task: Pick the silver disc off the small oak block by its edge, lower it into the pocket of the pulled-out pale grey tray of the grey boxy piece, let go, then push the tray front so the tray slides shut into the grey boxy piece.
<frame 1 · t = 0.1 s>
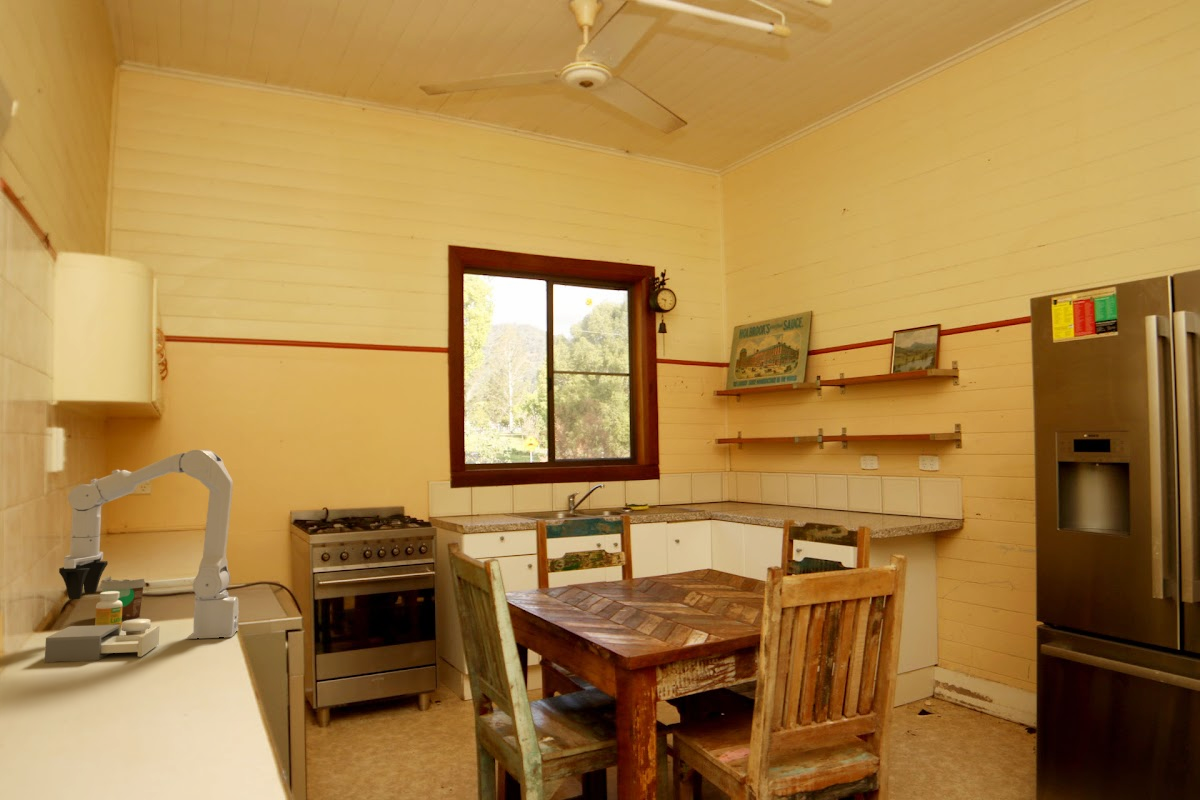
hand: (82, 596, 182), 10 cm above the worktop, tool pointing down, fingers open, 7 cm apart
food container: (115, 619, 206), on the worktop
disc: (135, 628, 179), point 3 cm above the worktop, touching block
grey boxy piece: (83, 654, 169), on the worktop
supplement bottle: (107, 634, 188), on the worktop
block: (135, 644, 178), on the worktop
tray: (125, 641, 171), point 2 cm above the worktop, slide at 7.0 cm
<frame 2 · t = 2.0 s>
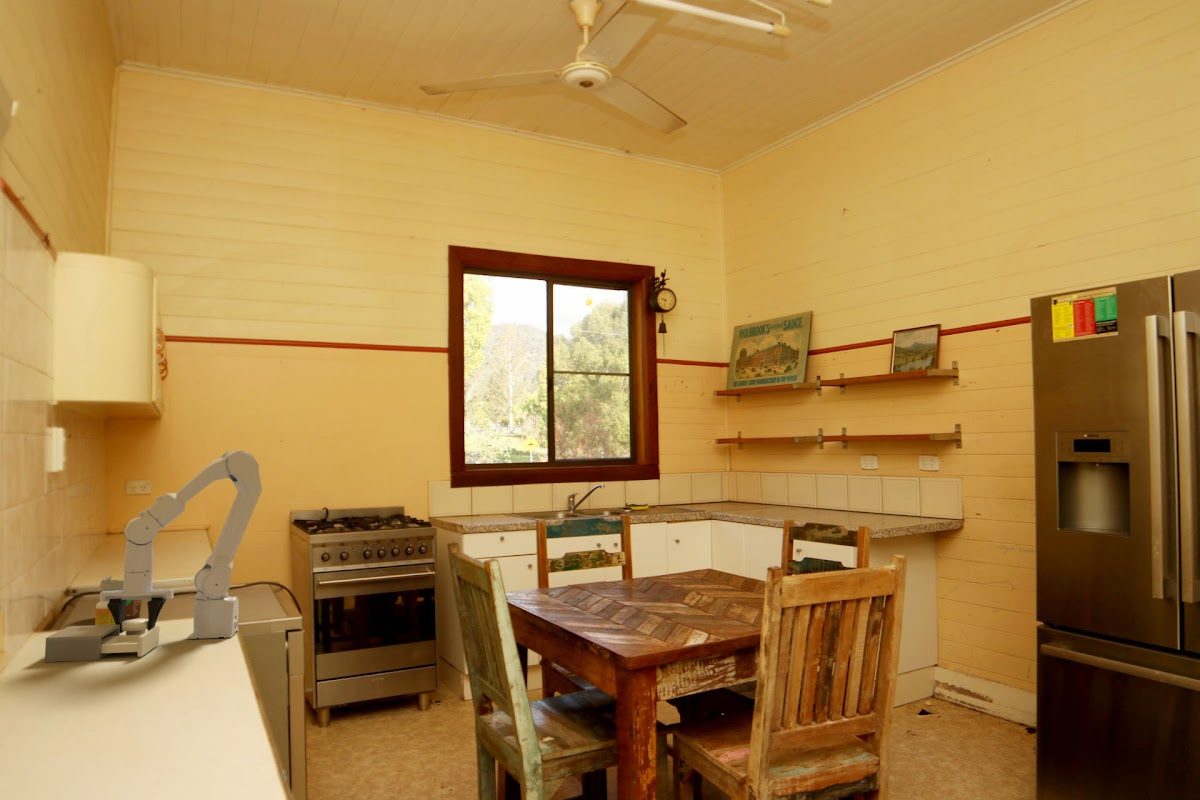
hand: (135, 632, 179), 3 cm above the worktop, tool pointing down, fingers closed on disc, 6 cm apart
disc: (135, 628, 179), point 4 cm above the worktop, touching block, gripper
everything else where it was.
when the fingers open (3 cm above the worktop, at t = 4.9 s): disc drops 2 cm, resting on tray.
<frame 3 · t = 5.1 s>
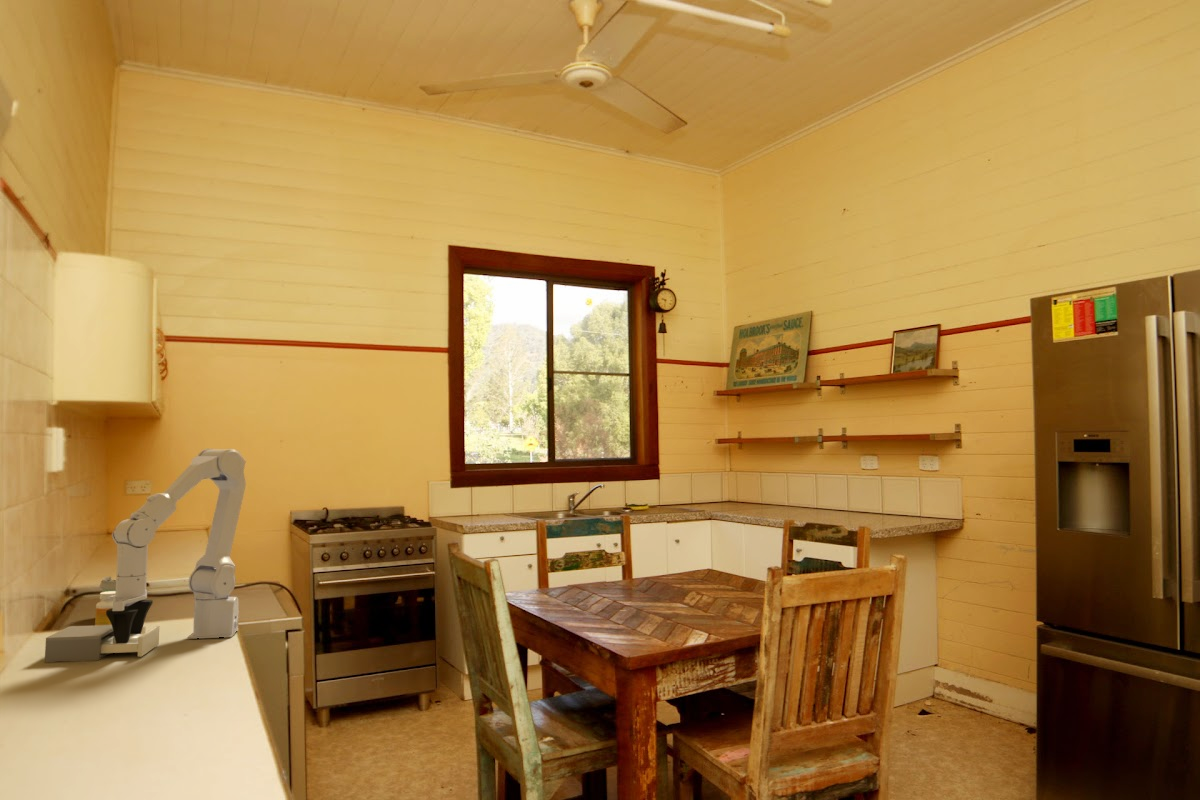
hand: (128, 638, 171), 3 cm above the worktop, tool pointing down, fingers open, 7 cm apart
disc: (127, 644, 171), point 2 cm above the worktop, touching tray
tray: (125, 641, 171), point 2 cm above the worktop, slide at 7.0 cm, touching disc
everything else where it was.
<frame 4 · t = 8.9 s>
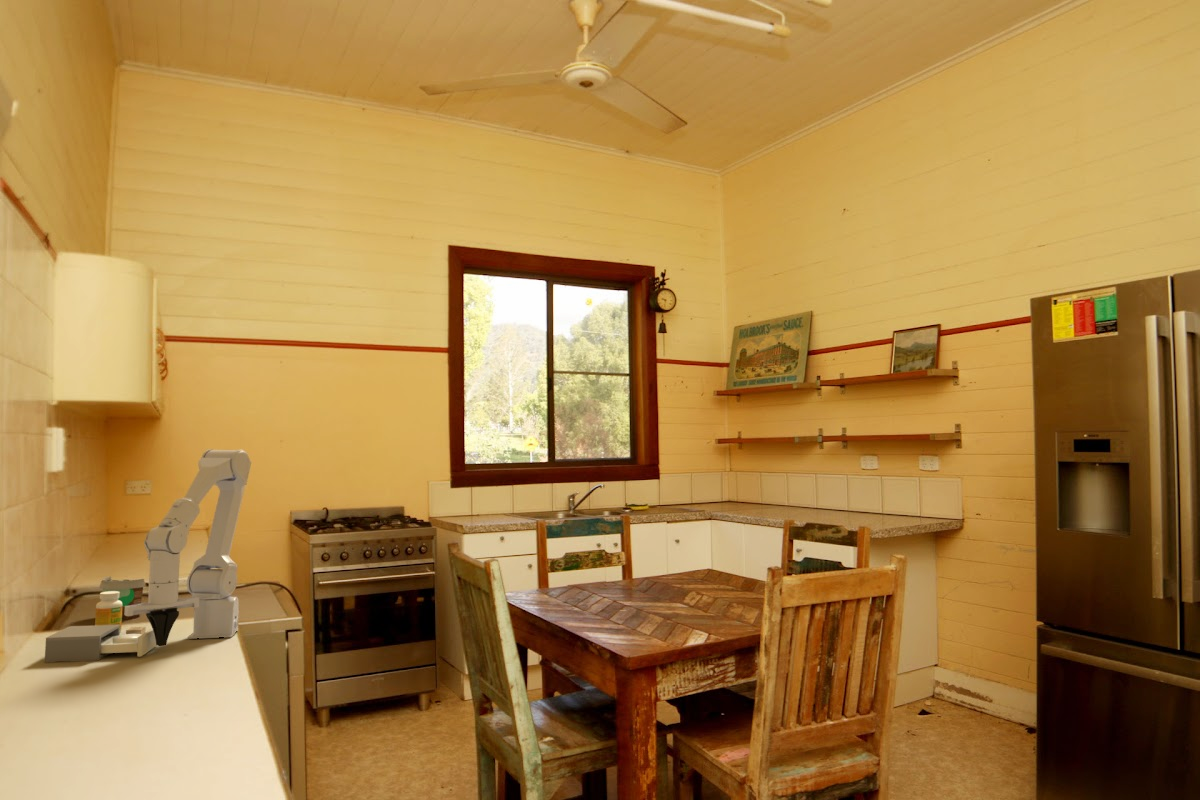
hand: (161, 644, 172), 1 cm above the worktop, tool pointing down, fingers closed
tray: (125, 641, 171), point 2 cm above the worktop, slide at 6.9 cm, touching disc, gripper
everything else where it was.
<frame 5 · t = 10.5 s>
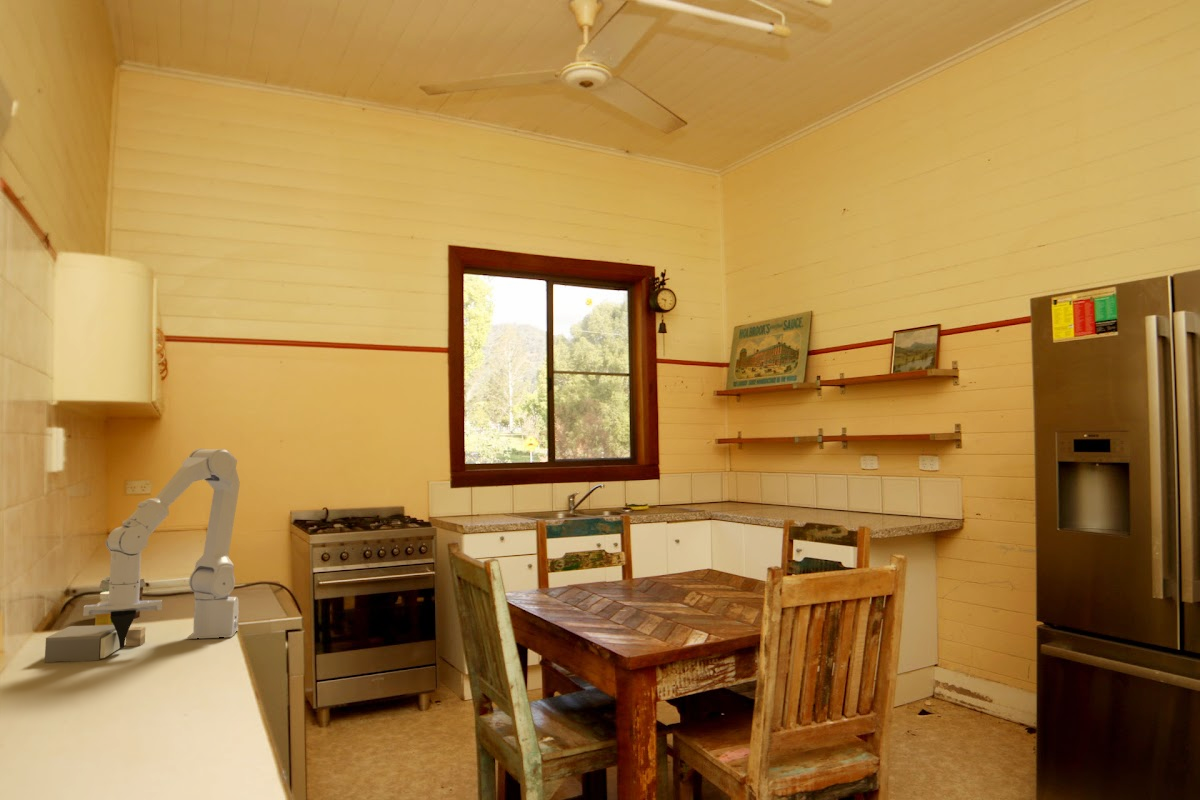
hand: (121, 646, 171), 1 cm above the worktop, tool pointing down, fingers closed
disc: (91, 645, 169), point 2 cm above the worktop, touching tray
tray: (88, 643, 169), point 2 cm above the worktop, slide at -0.1 cm, touching disc, gripper
everything else where it was.
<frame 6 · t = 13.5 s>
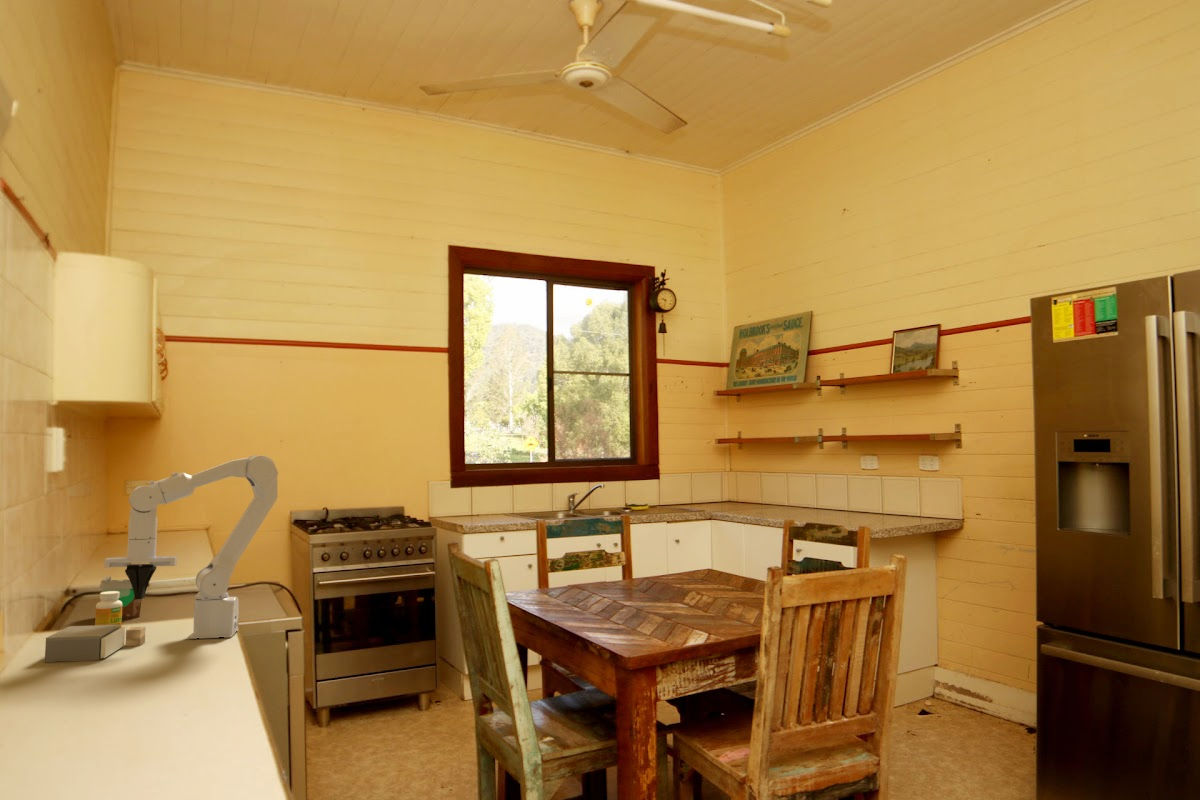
hand: (139, 598, 180), 10 cm above the worktop, tool pointing down, fingers closed
tray: (89, 643, 169), point 2 cm above the worktop, slide at 0.0 cm, touching disc
everything else where it was.
at the end: tray slide at 0.0 cm; disc inside the target area (1.1 cm from its centre), point 1.8 cm above the worktop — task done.
